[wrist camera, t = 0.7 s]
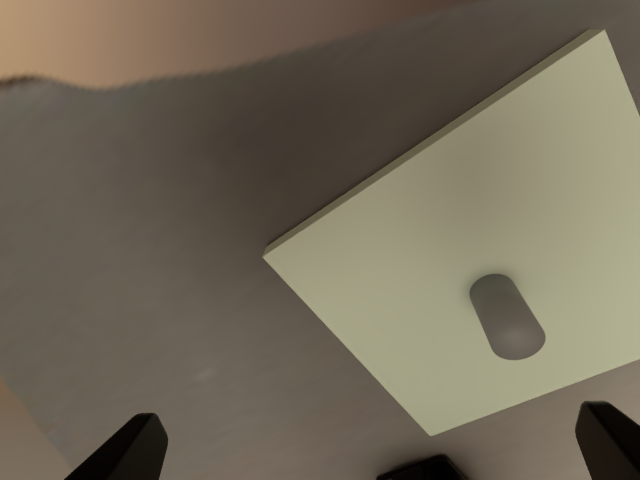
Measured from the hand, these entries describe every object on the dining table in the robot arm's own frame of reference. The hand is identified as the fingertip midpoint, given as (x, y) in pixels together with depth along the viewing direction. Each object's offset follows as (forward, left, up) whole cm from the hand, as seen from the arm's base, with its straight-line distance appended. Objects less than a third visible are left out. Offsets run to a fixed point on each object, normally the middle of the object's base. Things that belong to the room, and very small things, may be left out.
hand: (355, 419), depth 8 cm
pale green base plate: (-9, -3, -14) cm, 17 cm away
